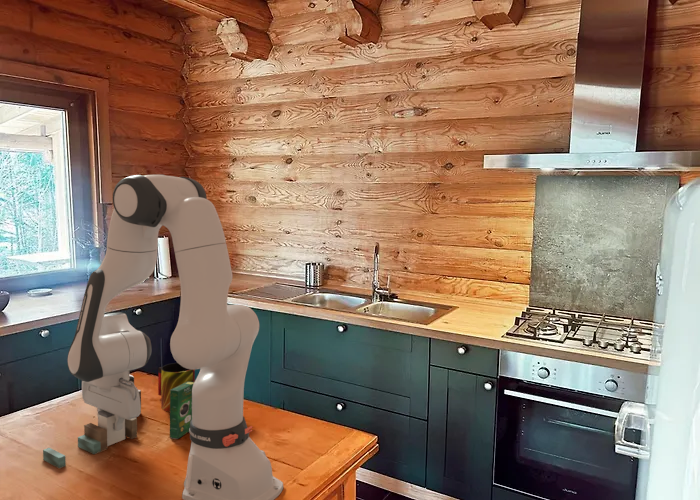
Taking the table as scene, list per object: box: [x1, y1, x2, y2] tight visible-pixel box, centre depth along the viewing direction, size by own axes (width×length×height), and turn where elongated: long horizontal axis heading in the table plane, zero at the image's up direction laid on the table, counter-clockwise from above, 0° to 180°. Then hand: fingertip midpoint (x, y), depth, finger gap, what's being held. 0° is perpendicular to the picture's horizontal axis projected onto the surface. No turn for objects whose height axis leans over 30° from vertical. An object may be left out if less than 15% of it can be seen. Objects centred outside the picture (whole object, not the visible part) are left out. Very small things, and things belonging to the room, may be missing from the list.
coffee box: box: [169, 382, 194, 440], centre depth 143 cm, size 8×3×13 cm, turn 161°
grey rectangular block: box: [97, 410, 126, 447], centre depth 138 cm, size 4×5×8 cm
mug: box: [157, 362, 196, 413], centre depth 162 cm, size 10×14×12 cm
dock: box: [42, 417, 138, 469], centre depth 133 cm, size 7×20×5 cm, turn 147°
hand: (111, 426), depth 138 cm, fingers closed on grey rectangular block, 4 cm apart
